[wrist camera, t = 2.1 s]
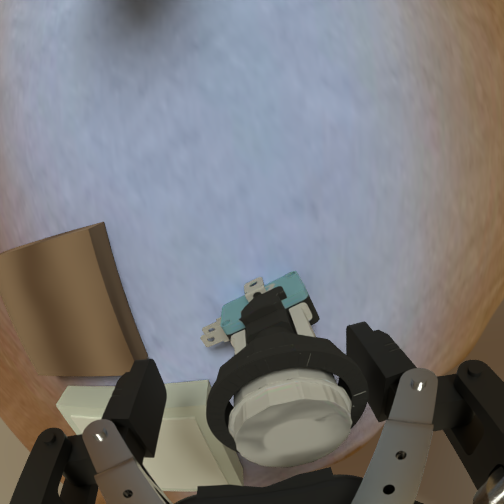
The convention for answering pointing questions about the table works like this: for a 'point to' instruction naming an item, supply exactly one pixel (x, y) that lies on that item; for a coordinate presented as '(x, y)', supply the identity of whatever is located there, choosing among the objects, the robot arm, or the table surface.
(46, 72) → the table surface
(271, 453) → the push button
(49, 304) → the walnut stand
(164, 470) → the cream tray
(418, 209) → the table surface
